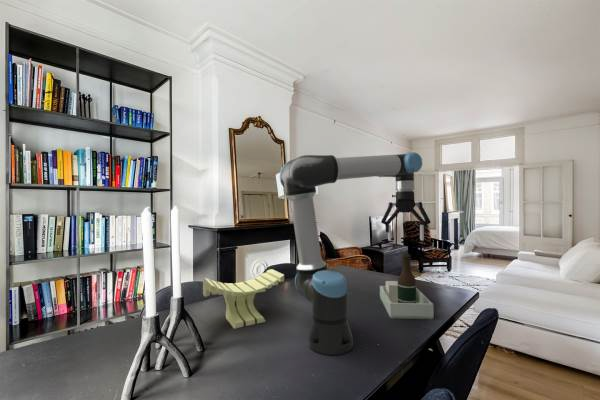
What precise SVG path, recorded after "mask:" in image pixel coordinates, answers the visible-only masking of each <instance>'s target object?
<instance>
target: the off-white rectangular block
mask: <svg viewBox="0 0 600 400" xmlns="http://www.w3.org/2000/svg"><path fill="white" fill-rule="evenodd" d="M397 284H398V280H397V281H396V280H385V286H386V294H387V296H388V297H389V299H390V301H391V302H392V303H398V285H397Z"/></svg>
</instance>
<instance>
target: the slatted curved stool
mask: <svg viewBox="0 0 600 400" xmlns="http://www.w3.org/2000/svg"><path fill="white" fill-rule="evenodd" d="M282 282H283V283H284V282H285V274H284V273H281V272H279V271H277V270H275V269H273V268H272V269H268V270H266V272H263V273H261V274H260V275H257V276H255V277H254V278H251V279H249V280H245V281H240V282H235V283H228V282H224V283H223V282H221V281H215V280H213V279H209V278H206V277H204V278H203V279H202V296H203V297H205V298H206V297H209V296H210V295H212V296H213V295H219V296H220V295H221V296H223V298H224V300H225V306H226V310H225V319H226V320H227V322H228V323H229V324H230V326H231V327H232V328H233V329H235V330H236V329H238V328H242V327H243V328H244V327H247V326H253V325H255V324H261V323H265V322H266V320H265V318H264V316H263V315H261V313H260V312H259V311H258V310H257V309H256V306H255V304H254V299H255V297H256V296H255V295H256V294H258V293H263V292H266V291H267V290H266V289H272V288H273V286H278V285H279V283H282Z"/></svg>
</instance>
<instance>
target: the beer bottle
mask: <svg viewBox="0 0 600 400" xmlns="http://www.w3.org/2000/svg"><path fill="white" fill-rule="evenodd" d="M411 257H412V255H411V254H409V253H402V254H401V258H402V260H401V273H400V274H399V276H398V279H397V281H398V284H397V285H398V303H416V288H417V282H416V278H415V275H414V274H413V273H412V267H411V266H412V265H411Z"/></svg>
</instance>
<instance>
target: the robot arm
mask: <svg viewBox="0 0 600 400" xmlns="http://www.w3.org/2000/svg"><path fill="white" fill-rule="evenodd" d="M422 167H423V159H422V156H421V155H420V154H419V153H418V152H407V153H399V154H383V155H380V154H379V155H367V156H364V155H363V156H350V157H345V156H344V157H336V156H335V155H333V154H329V155H323V154H322V155H319V154H318V155H317V154H314V155H313V154H305V155H301V156H299V157H296V158H294V159H291V160H288V161H287V162H286V163H284V165H283V166H282V167H281V169H280V172H279V181H280V184H281V185H282V187H283V188H284V193H285V194H284V195H285V198H287V199H288V200H289V201H290V205H291V206H290V207H291V213H292V221H293V228H294V233H295V234H294V235H295V241H296V248H297V254H298V264H297V265H296V267H295V268H296V270H295V271H296V274H295V278H294V285H295V288H296V289H297V291H298V293H299V295H301V296H302V297H303V298H304V299H306V300H307V301H308V302H310V303H311V304H312V323H311V325H310V329H309V333H308V335H307V344H308V347H309V348H310V349H311V350H312V351H314V352H316V353H318V354H322V355H327V356H330V355H331V356H337V355H342V354H346V353H348V352H350V351H351V350H352V349H353V348H354V337H353V334H352V331H351V327H350V325H349V322H348V290H349V289H348V283H347V282H348V281H347V278H346V277H345V276H344V274H342V273H341V272H338V271H333V270H328V267H327V263H326V261H325V260H323V258H322V254H321V253H322V252H321V246H320V240H319V238H320V237H319V231H318V225H317V217H316V212H315V205H314V197H315V195H316V193H317V188H316V187H318V186H323V185H327V184H334V183H336V182H337V180H349V179H359V178H362V179H363V178H371V177H373V178H374V177H379V178H384V177H385V178H395V191H396V192H395V202H391V201H390V202H388V205H387V208H386V211H385V212H384V215H383V217H382V219H381V221H380V223H381V224H384V226H385V233H387V240H388V241H392V225H391V223H392V221H393V220H394V219H395V218H396V217H397V216H398V214H400V213H403V214H404V213H408V214H409V213H411V214H412V215H413V216H414V217H415V218H416V219H417V220H418V221H419V223H420V225H419V240H420V241H421V242H423V241H425V234H424V233H427V225H429V224H431V223H432V221H431V220H430V218H429V216H428V214H427V212H426V210H425V208H424V207H423V206H424V205H423V202H422V201H418V202H415V191H414V190H415V173H417V172H420V171H421V169H422ZM394 207H396V209H395V210H394V212H393V213H392V214H391V216H390V217H389V215H390V213H391V211H392V208H394ZM415 207H417V208H418V211H420V214H421V215H422V216H421V215H420V214H419V213H418V212H417V211H416V210H415ZM388 217H389V218H388ZM422 217H423V218H422Z"/></svg>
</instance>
